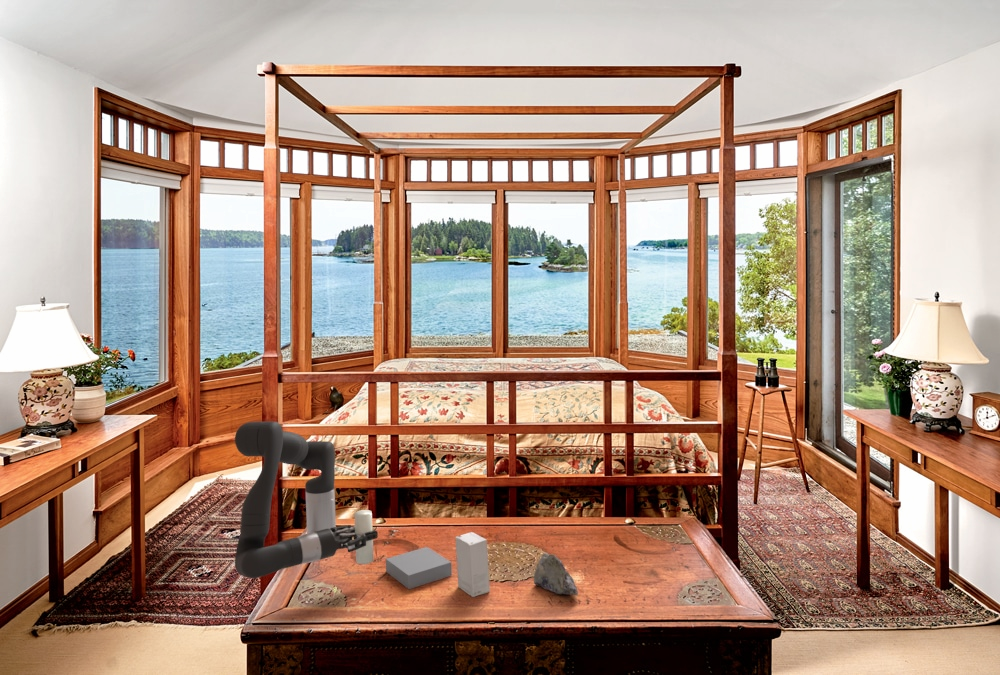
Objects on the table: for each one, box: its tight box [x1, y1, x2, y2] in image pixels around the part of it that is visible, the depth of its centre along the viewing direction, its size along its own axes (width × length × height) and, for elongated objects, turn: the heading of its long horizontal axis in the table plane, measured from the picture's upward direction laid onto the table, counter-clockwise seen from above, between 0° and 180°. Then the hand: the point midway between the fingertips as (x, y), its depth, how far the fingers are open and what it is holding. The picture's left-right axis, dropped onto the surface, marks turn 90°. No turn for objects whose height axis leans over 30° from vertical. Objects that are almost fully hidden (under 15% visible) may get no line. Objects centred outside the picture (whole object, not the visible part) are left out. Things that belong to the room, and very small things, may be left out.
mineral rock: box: [533, 552, 579, 596], centre depth 179 cm, size 13×11×10 cm
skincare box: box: [455, 531, 491, 598], centre depth 180 cm, size 8×6×15 cm
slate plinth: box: [385, 546, 453, 590], centre depth 191 cm, size 14×14×4 cm
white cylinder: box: [354, 509, 374, 565], centre depth 185 cm, size 5×5×14 cm
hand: (372, 531), depth 186 cm, fingers closed on white cylinder, 4 cm apart
